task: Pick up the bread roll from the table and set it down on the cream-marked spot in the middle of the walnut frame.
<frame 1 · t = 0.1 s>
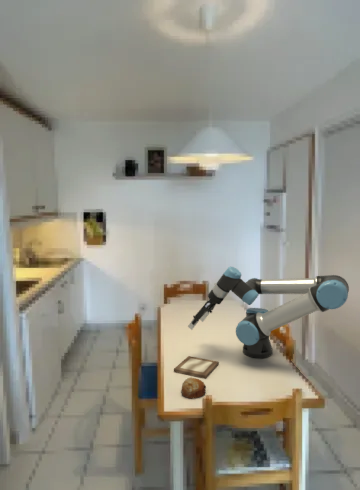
hand: (195, 324, 194), 15 cm above the table, tool tilted 35°, fingers open, 13 cm apart
bread roll: (193, 393, 155), on the table
walnut frame: (196, 368, 177), on the table
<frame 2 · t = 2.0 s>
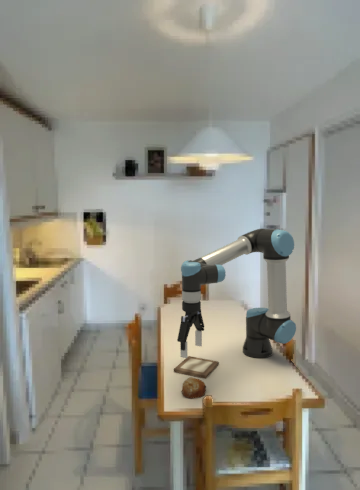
hand: (191, 351, 154), 17 cm above the table, tool pointing down, fingers open, 13 cm apart
nothing on the table moved.
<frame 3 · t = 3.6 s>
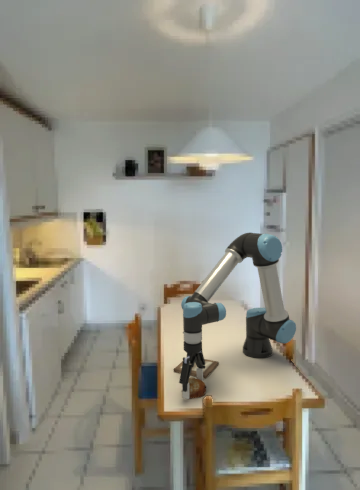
hand: (193, 390, 155), 1 cm above the table, tool pointing down, fingers open, 13 cm apart
nothing on the table moved.
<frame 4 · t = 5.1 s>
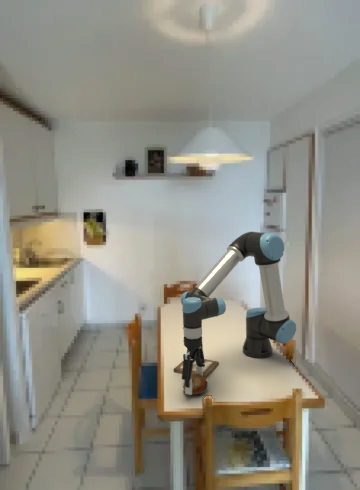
hand: (194, 387, 155), 2 cm above the table, tool pointing down, fingers closed on bread roll, 10 cm apart
bread roll: (195, 388, 155), point 1 cm above the table, touching gripper
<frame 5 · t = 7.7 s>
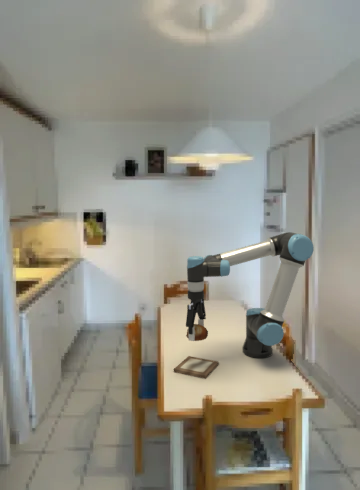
hand: (196, 336, 175), 16 cm above the table, tool pointing down, fingers closed on bread roll, 10 cm apart
bread roll: (197, 337, 176), point 15 cm above the table, touching gripper
when the fingers open (3 cm above the table, at t = 10.6 s): bread roll stays where it is, resting on walnut frame.
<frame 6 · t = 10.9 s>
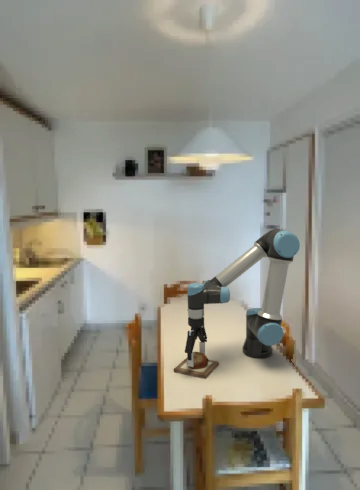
hand: (196, 360, 177), 4 cm above the table, tool pointing down, fingers open, 13 cm apart
bread roll: (197, 365, 177), point 1 cm above the table, touching walnut frame
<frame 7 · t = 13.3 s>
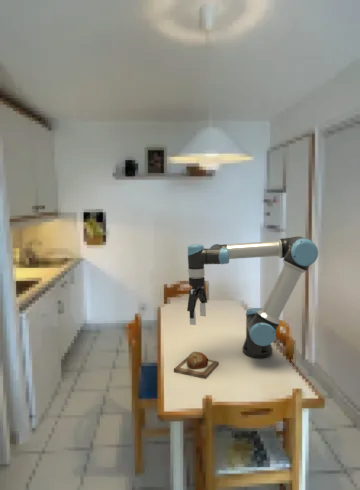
hand: (198, 320, 181), 21 cm above the table, tool pointing down, fingers open, 13 cm apart
nothing on the table moved.
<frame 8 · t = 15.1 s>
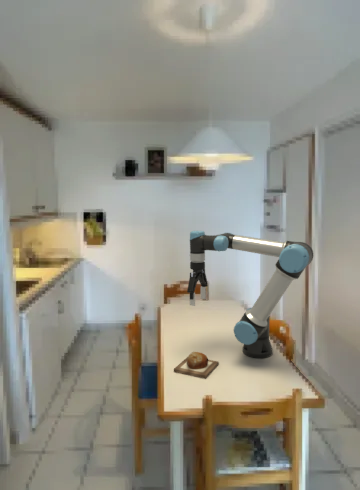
hand: (198, 302, 193), 27 cm above the table, tool pointing down, fingers open, 13 cm apart
nothing on the table moved.
at the end: bread roll inside the target area on the walnut frame (0.4 cm from its centre), point 1.4 cm above the walnut frame's base; the gripper is holding nothing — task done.
